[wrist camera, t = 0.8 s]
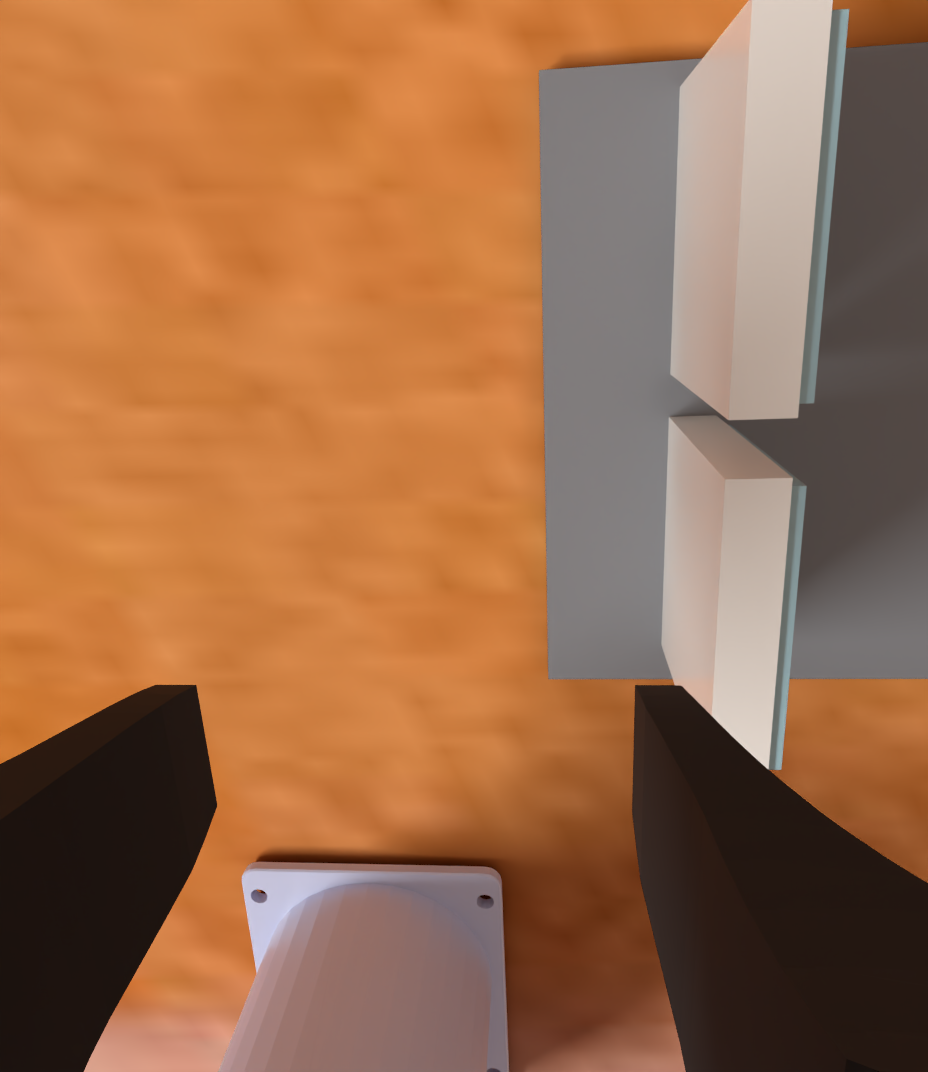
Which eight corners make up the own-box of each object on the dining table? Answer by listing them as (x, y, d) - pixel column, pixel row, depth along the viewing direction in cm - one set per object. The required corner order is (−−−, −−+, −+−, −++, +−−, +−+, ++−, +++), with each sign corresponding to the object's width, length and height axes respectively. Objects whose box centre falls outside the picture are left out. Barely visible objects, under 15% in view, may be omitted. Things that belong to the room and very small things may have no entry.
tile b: (731, 371, 19) (816, 417, 13) (669, 374, 19) (728, 420, 13) (748, 82, 17) (856, -13, 11) (679, 86, 17) (751, -4, 11)
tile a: (716, 644, 21) (783, 785, 15) (661, 644, 21) (708, 784, 15) (729, 414, 19) (811, 477, 13) (668, 416, 19) (725, 479, 13)
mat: (1048, 667, 21) (1063, 678, 20) (548, 668, 22) (548, 679, 22) (1177, 31, 16) (1200, 22, 16) (539, 77, 18) (538, 70, 17)
